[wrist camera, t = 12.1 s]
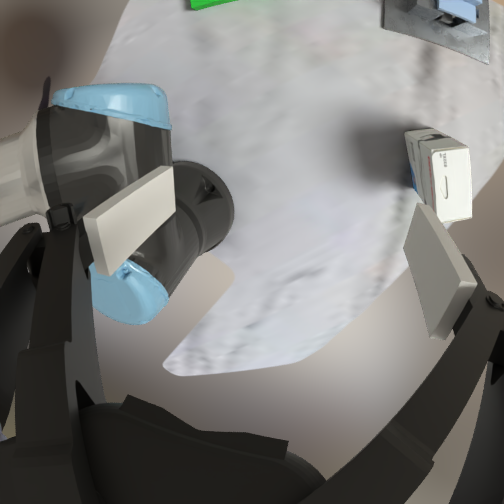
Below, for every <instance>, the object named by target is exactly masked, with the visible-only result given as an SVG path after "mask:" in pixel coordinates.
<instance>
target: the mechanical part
mask: <svg viewBox="0 0 504 504" xmlns="http://www.w3.org/2000/svg"><path fill="white" fill-rule="evenodd" d="M232 1H237V0H190V2H191V8H192V9H194V10H200V9H204V8H208V7H211V6H215V5H219V4H223V3H228V2H232Z"/></svg>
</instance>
